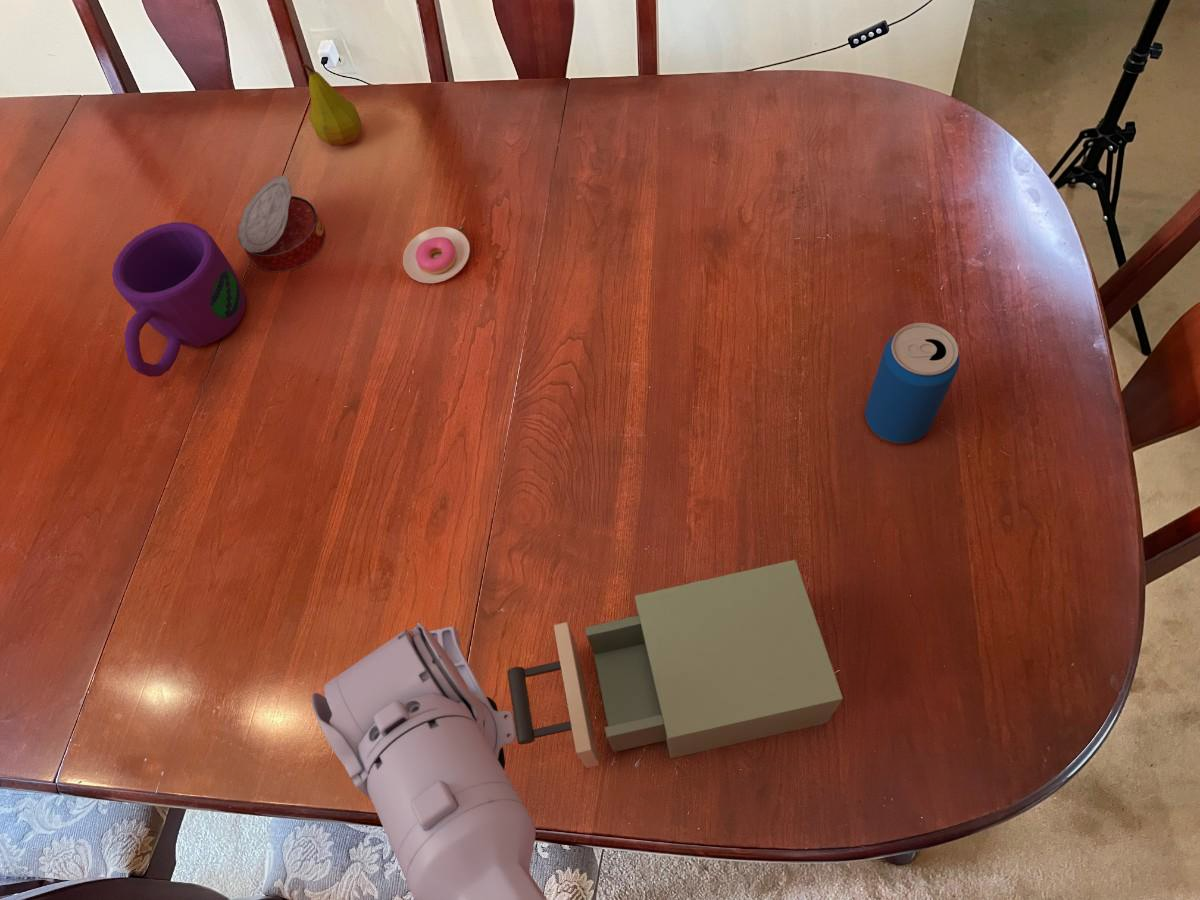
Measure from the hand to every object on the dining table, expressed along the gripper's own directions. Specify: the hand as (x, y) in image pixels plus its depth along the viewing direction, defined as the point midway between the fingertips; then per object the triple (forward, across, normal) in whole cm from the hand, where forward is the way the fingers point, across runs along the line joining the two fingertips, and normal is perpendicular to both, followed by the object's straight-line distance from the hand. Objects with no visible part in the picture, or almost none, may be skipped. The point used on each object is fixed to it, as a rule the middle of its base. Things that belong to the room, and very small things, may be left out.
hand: (477, 753), depth 63 cm
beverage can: (+11, +24, -44) cm, 52 cm away
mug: (+16, +55, +29) cm, 64 cm away
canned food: (+17, +67, +18) cm, 71 cm away
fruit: (+18, +84, +10) cm, 86 cm away
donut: (+15, +60, -1) cm, 62 cm away
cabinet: (+10, +3, -21) cm, 24 cm away
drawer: (+10, +3, -11) cm, 15 cm away
